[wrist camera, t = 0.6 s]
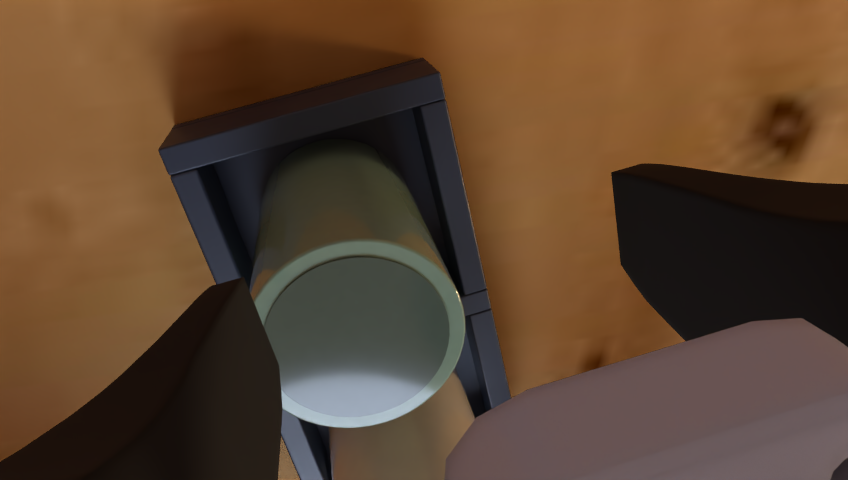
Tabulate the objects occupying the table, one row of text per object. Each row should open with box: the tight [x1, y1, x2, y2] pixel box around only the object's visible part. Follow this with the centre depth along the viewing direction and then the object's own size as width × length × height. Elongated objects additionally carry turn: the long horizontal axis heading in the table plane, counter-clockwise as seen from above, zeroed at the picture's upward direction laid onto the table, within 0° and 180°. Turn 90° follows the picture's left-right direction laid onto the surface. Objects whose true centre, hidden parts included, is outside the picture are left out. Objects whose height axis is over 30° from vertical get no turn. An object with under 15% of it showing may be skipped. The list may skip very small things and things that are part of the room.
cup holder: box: [159, 58, 511, 480], centre depth 23 cm, size 15×8×3 cm, turn 13°
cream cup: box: [328, 367, 475, 480], centre depth 22 cm, size 5×5×8 cm
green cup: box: [249, 139, 465, 428], centre depth 18 cm, size 5×5×8 cm
